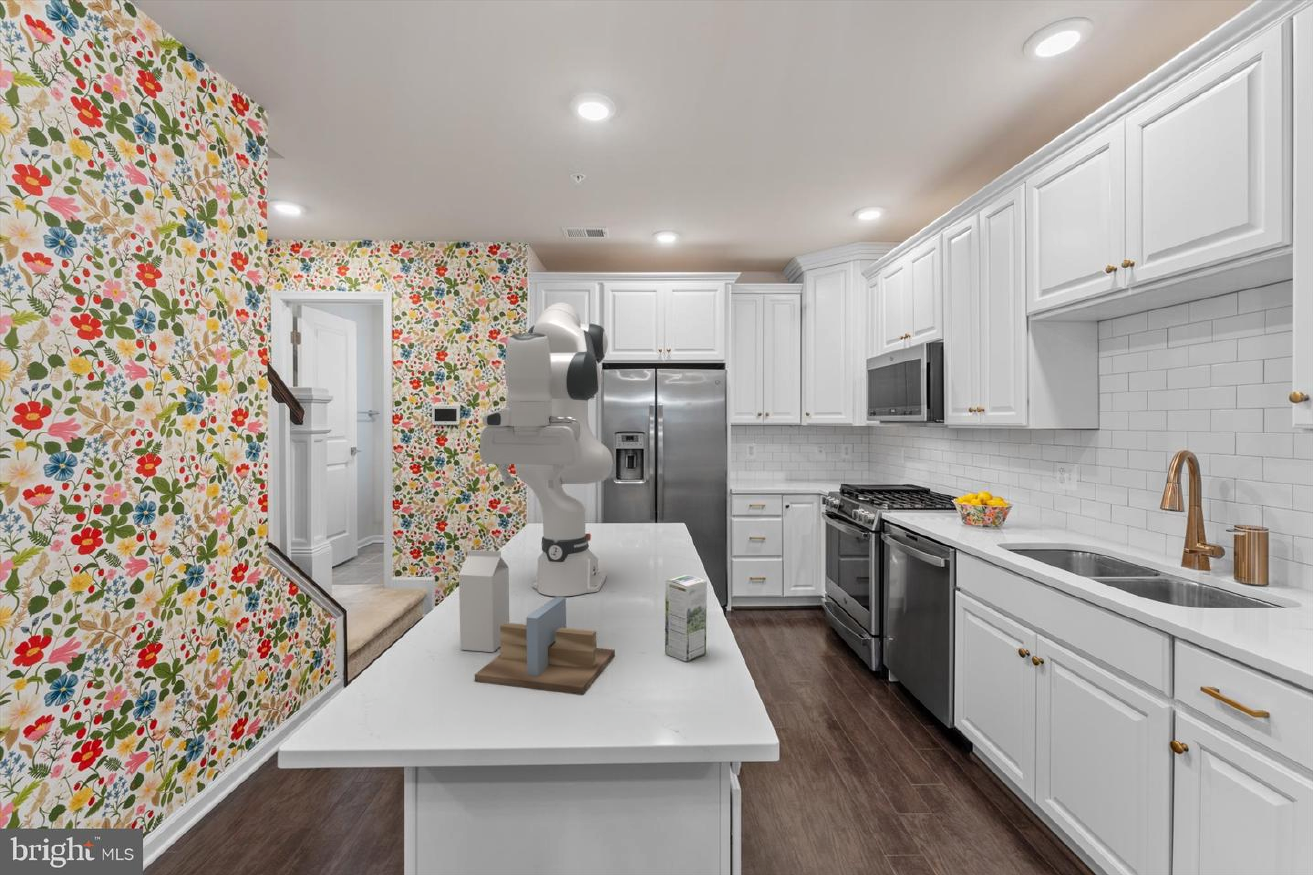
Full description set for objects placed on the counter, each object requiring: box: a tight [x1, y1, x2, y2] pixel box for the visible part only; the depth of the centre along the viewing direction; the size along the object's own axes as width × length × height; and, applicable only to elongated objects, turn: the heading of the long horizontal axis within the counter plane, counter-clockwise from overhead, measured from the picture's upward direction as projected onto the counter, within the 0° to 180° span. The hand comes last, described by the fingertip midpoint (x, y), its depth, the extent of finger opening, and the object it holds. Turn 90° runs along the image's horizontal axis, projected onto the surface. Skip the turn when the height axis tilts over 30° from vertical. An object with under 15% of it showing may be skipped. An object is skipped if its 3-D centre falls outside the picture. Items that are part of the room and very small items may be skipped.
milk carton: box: [458, 549, 510, 653], centre depth 116 cm, size 7×7×19 cm
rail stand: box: [474, 622, 616, 695], centre depth 105 cm, size 16×20×7 cm
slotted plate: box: [525, 596, 567, 676], centre depth 105 cm, size 12×2×10 cm, turn 165°
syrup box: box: [664, 574, 708, 663], centre depth 111 cm, size 6×6×14 cm
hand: (531, 487), depth 113 cm, fingers open, 8 cm apart
